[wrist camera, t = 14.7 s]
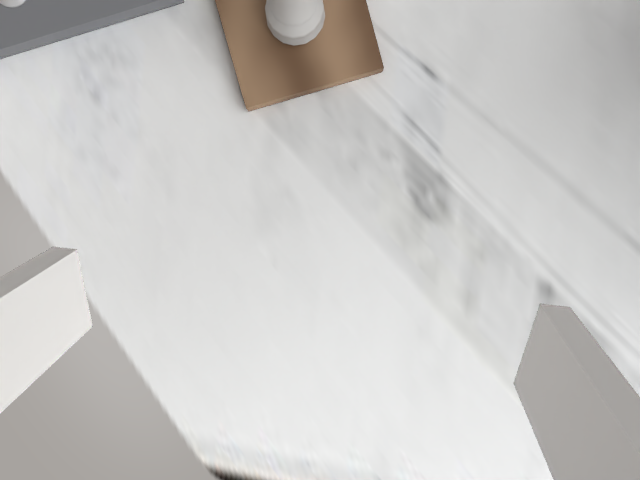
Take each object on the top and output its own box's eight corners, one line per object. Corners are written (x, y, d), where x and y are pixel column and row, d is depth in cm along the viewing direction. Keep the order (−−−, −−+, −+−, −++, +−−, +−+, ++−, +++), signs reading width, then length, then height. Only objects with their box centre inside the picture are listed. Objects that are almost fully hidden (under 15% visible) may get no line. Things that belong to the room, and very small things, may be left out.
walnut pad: (344, -69, 32) (345, -78, 31) (382, 72, 32) (383, 67, 31) (208, -27, 32) (205, -34, 31) (248, 111, 33) (246, 108, 32)
